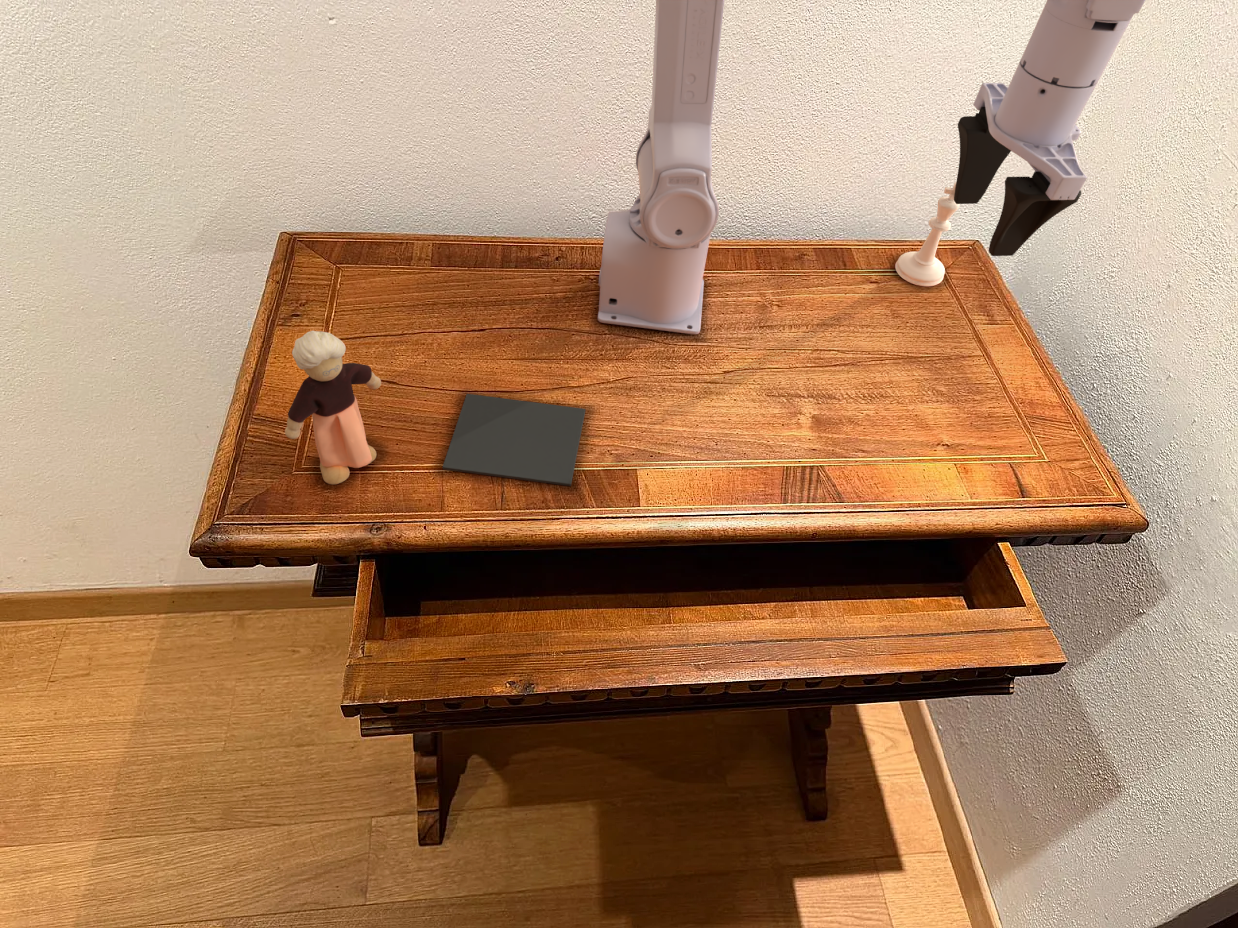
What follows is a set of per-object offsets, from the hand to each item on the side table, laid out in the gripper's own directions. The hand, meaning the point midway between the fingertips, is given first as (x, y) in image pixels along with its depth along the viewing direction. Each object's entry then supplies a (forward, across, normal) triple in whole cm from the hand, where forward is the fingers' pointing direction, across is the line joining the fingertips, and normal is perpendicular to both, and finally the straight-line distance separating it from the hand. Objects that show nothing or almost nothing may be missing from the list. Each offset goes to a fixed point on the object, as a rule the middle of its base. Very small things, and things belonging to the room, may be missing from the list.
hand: (982, 226), depth 70 cm
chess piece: (+10, +6, 0) cm, 12 cm away
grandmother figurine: (+10, -14, +54) cm, 57 cm away
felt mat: (+10, -13, +42) cm, 45 cm away
